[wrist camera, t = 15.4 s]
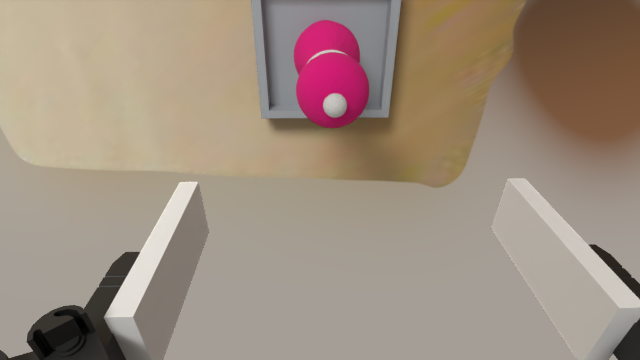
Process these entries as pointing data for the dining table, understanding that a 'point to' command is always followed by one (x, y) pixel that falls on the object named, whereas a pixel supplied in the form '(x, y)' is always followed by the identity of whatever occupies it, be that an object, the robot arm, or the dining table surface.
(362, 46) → the tray
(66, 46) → the dining table surface
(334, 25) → the pepper mill
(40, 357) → the robot arm
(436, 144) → the dining table surface
